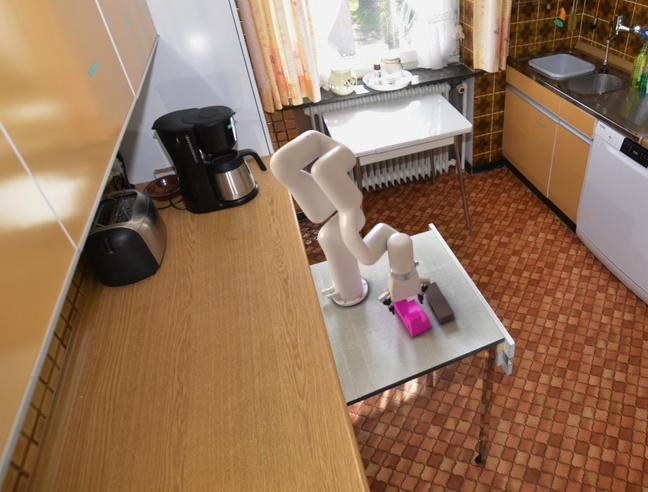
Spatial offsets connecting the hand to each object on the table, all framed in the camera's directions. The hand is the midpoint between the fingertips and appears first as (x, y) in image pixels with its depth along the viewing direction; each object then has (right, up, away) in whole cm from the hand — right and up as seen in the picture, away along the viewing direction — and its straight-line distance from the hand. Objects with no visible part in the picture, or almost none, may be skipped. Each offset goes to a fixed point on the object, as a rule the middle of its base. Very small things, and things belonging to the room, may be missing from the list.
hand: (406, 306), depth 143 cm
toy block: (+1, -4, +2) cm, 4 cm away
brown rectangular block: (+10, -1, +5) cm, 11 cm away
